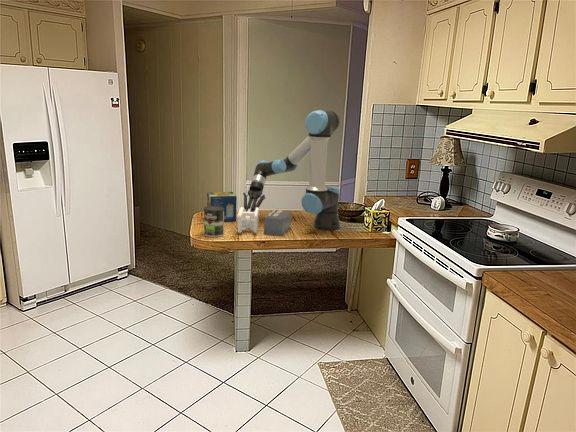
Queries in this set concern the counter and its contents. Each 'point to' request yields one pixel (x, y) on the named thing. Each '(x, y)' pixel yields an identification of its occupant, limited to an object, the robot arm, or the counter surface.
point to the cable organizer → (248, 220)
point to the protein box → (224, 203)
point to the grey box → (277, 222)
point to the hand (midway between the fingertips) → (247, 220)
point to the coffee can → (213, 221)
